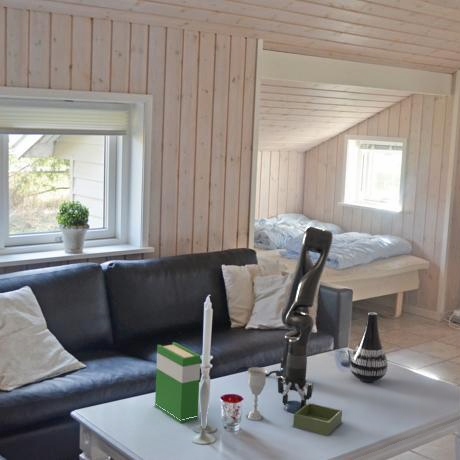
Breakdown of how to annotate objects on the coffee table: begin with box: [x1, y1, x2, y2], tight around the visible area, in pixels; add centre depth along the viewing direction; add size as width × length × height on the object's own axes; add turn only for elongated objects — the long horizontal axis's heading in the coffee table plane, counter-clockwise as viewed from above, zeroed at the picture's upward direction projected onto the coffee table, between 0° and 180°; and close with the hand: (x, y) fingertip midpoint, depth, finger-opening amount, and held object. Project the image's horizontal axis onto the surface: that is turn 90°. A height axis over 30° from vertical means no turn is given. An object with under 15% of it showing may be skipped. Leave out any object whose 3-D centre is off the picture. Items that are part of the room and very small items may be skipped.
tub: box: [292, 402, 343, 436], centre depth 283 cm, size 13×13×5 cm
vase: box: [349, 311, 389, 384], centre depth 331 cm, size 16×16×30 cm
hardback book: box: [154, 341, 202, 424], centre depth 286 cm, size 18×7×24 cm, turn 37°
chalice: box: [247, 366, 268, 421], centre depth 286 cm, size 7×7×18 cm
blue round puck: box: [284, 400, 301, 414], centre depth 297 cm, size 6×6×2 cm
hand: (293, 406), depth 297 cm, fingers closed on blue round puck, 6 cm apart
